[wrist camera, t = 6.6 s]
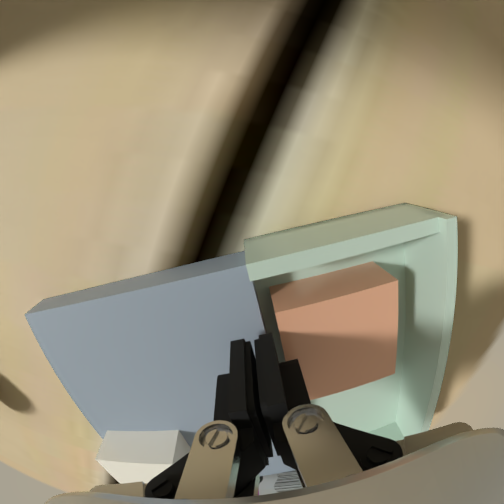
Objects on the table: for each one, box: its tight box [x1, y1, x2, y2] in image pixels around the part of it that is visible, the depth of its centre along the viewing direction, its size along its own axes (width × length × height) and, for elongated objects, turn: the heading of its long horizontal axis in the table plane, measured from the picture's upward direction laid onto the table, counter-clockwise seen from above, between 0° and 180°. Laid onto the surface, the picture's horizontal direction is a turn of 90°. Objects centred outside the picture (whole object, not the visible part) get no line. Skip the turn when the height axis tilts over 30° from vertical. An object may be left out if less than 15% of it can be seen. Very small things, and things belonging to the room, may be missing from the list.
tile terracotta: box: [269, 261, 398, 400], centre depth 12 cm, size 5×5×2 cm
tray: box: [244, 203, 458, 441], centre depth 13 cm, size 16×8×4 cm, turn 13°
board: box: [25, 251, 295, 476], centre depth 14 cm, size 15×12×2 cm
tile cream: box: [96, 430, 191, 484], centre depth 13 cm, size 5×5×2 cm
